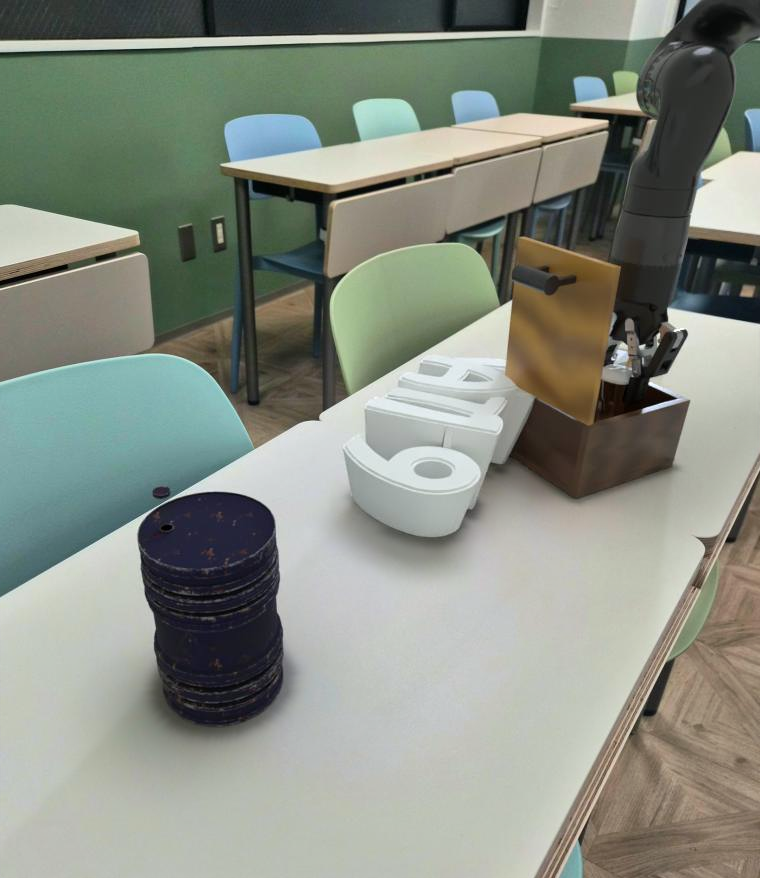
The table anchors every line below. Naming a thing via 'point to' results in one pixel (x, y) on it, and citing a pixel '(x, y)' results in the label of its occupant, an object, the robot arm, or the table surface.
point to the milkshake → (613, 391)
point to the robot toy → (621, 358)
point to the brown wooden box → (602, 443)
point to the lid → (560, 326)
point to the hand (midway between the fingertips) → (615, 395)
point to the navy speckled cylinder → (214, 604)
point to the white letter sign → (435, 443)
